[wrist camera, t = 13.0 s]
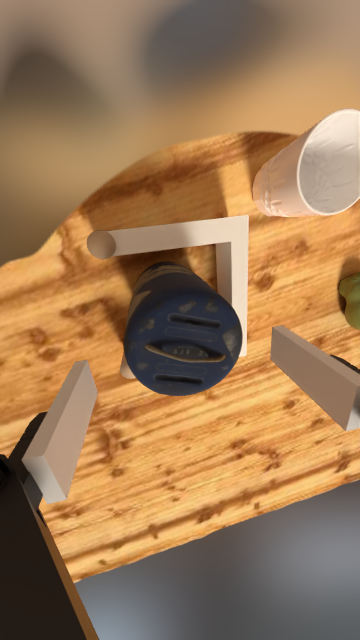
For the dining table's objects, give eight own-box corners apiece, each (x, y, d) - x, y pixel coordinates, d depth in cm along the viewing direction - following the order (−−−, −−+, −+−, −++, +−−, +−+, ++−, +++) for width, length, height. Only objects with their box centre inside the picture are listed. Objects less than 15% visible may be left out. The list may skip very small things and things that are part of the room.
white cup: (290, 226, 30) (352, 223, 21) (239, 213, 28) (283, 203, 19) (312, 162, 27) (396, 125, 18) (258, 143, 26) (320, 93, 17)
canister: (151, 247, 28) (157, 263, 12) (209, 278, 31) (280, 327, 15) (123, 308, 31) (96, 391, 14) (180, 332, 34) (211, 425, 17)
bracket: (126, 355, 34) (122, 380, 28) (97, 232, 27) (83, 232, 21) (230, 337, 35) (247, 357, 30) (228, 217, 28) (250, 213, 23)
